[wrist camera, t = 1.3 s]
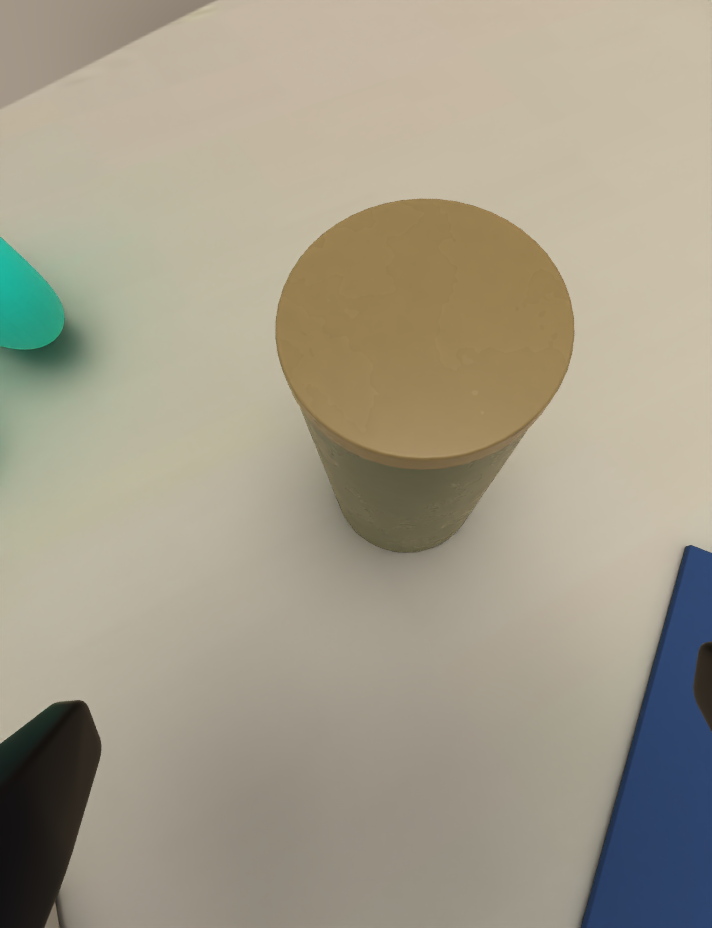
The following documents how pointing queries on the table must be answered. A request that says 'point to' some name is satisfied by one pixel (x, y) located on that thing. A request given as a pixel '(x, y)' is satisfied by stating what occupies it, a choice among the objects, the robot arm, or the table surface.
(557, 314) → the tea tin
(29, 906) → the robot arm
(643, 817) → the blue mat
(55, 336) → the donuts
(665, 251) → the table surface
